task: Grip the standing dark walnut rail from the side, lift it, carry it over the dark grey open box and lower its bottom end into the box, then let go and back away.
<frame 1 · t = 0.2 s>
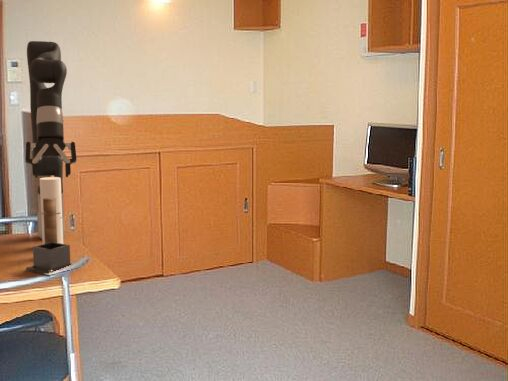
hand: (51, 177, 179), 30 cm above the table, tool tilted 20°, fingers open, 8 cm apart
walnut rail: (51, 256, 207), on the table
cream tall block: (53, 247, 221), on the table
dark grey open box: (52, 269, 192), on the table
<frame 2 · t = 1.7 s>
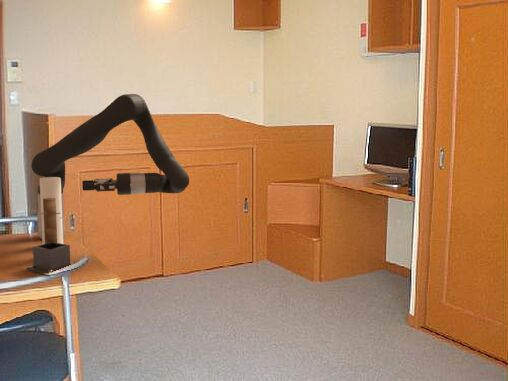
hand: (82, 185, 206), 24 cm above the table, tool horizontal, fingers open, 8 cm apart
nothing on the table moved.
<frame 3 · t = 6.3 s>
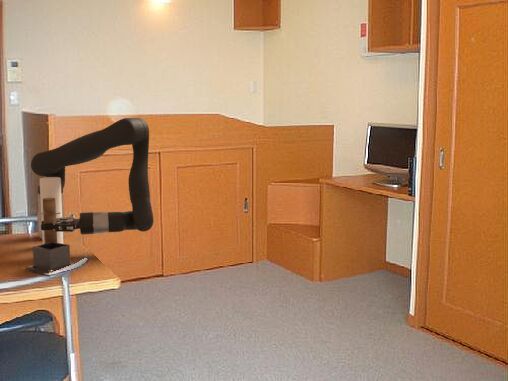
hand: (41, 225, 205), 11 cm above the table, tool horizontal, fingers closed on walnut rail, 4 cm apart
walnut rail: (51, 256, 207), on the table, touching gripper
everything else where it was.
when the fingers open (13 cm above the table, at t = 11.1 s): walnut rail drops 1 cm, resting on dark grey open box.
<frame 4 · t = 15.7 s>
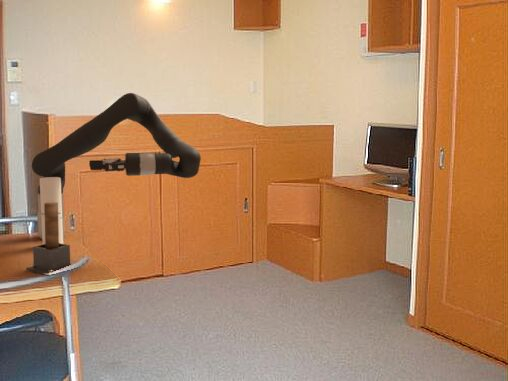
hand: (89, 165, 197), 32 cm above the table, tool horizontal, fingers open, 8 cm apart
walnut rail: (52, 265, 192), point 1 cm above the table, touching dark grey open box
everything else where it was.
at the end: walnut rail 0.2 cm off-centre on the dark grey open box, point 1.0 cm above the dark grey open box's base; walnut rail tilted 1°; the gripper is holding nothing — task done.
